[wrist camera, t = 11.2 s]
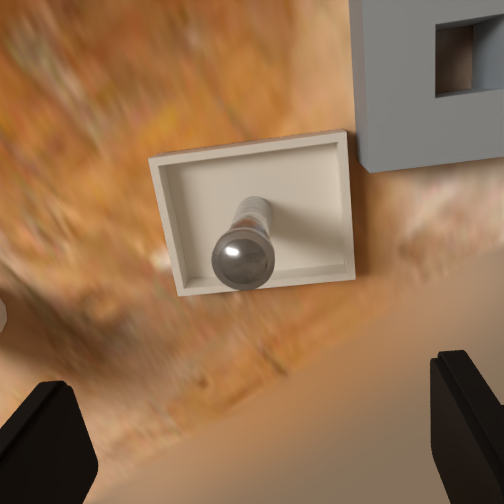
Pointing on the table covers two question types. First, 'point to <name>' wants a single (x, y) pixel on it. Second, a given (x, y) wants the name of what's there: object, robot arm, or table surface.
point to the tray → (269, 188)
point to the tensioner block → (424, 84)
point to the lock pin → (246, 247)
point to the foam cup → (2, 315)
